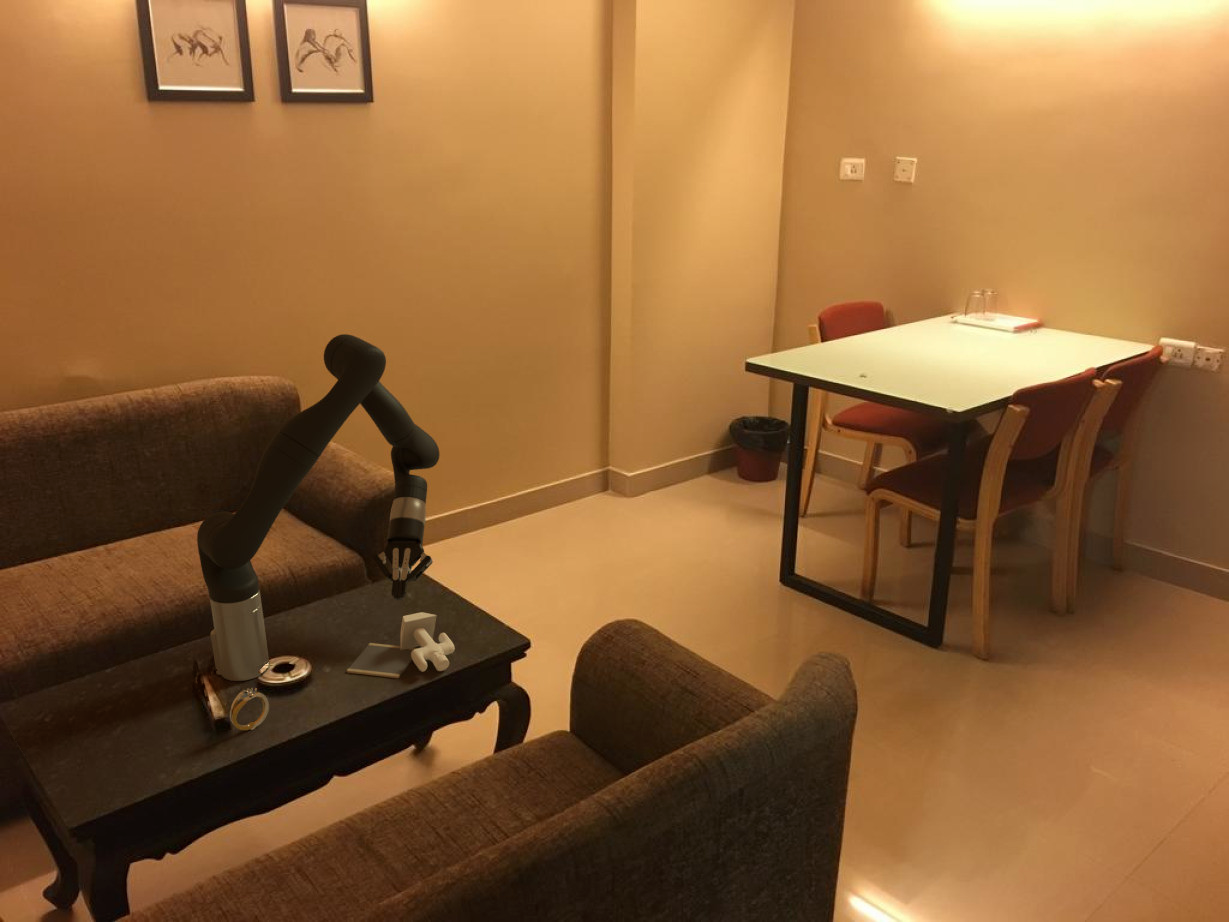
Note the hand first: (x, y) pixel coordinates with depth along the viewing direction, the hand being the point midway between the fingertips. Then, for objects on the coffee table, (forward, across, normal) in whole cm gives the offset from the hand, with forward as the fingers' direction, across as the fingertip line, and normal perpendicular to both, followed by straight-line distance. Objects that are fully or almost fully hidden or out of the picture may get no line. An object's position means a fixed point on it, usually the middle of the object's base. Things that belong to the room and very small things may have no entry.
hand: (398, 599), depth 204 cm
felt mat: (+13, -2, +1) cm, 13 cm away
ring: (+30, -20, -15) cm, 39 cm away
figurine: (+4, +2, +3) cm, 6 cm away
